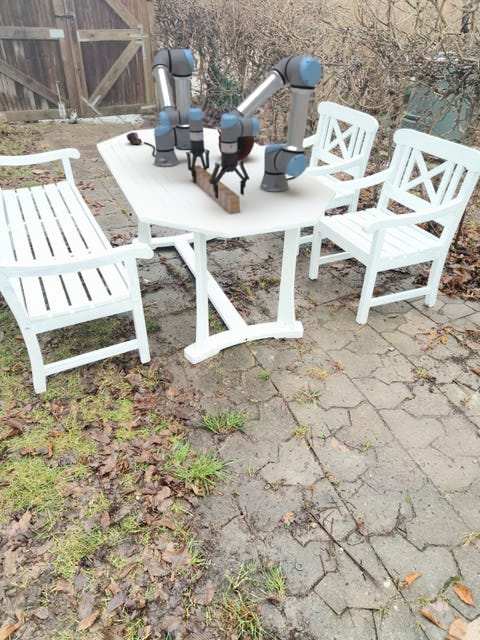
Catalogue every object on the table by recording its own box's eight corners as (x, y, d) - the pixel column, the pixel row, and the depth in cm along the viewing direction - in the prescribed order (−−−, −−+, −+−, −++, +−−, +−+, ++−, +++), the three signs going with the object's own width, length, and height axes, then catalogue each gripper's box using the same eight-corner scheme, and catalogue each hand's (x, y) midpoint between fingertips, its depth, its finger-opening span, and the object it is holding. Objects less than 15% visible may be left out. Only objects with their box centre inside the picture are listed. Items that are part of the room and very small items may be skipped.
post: (192, 179, 266) (191, 166, 261) (200, 178, 267) (199, 165, 263) (230, 213, 221) (229, 197, 216) (239, 212, 222) (239, 196, 218)
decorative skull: (215, 132, 306) (215, 129, 282) (249, 124, 305) (251, 121, 281) (222, 164, 313) (222, 164, 289) (255, 157, 312) (258, 156, 288)
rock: (138, 143, 345) (126, 144, 341) (137, 131, 341) (124, 132, 337) (143, 144, 336) (130, 145, 331) (141, 131, 332) (128, 132, 328)
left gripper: (183, 142, 243) (186, 185, 256) (214, 139, 249) (216, 181, 262) (179, 139, 248) (182, 181, 262) (209, 136, 254) (211, 177, 267)
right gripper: (206, 156, 203) (208, 201, 215) (256, 150, 212) (255, 195, 224) (201, 152, 209) (203, 196, 221) (250, 147, 217) (249, 190, 229)
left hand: (199, 181), depth 262 cm, fingers closed on post, 5 cm apart
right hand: (229, 196), depth 222 cm, fingers open, 13 cm apart
